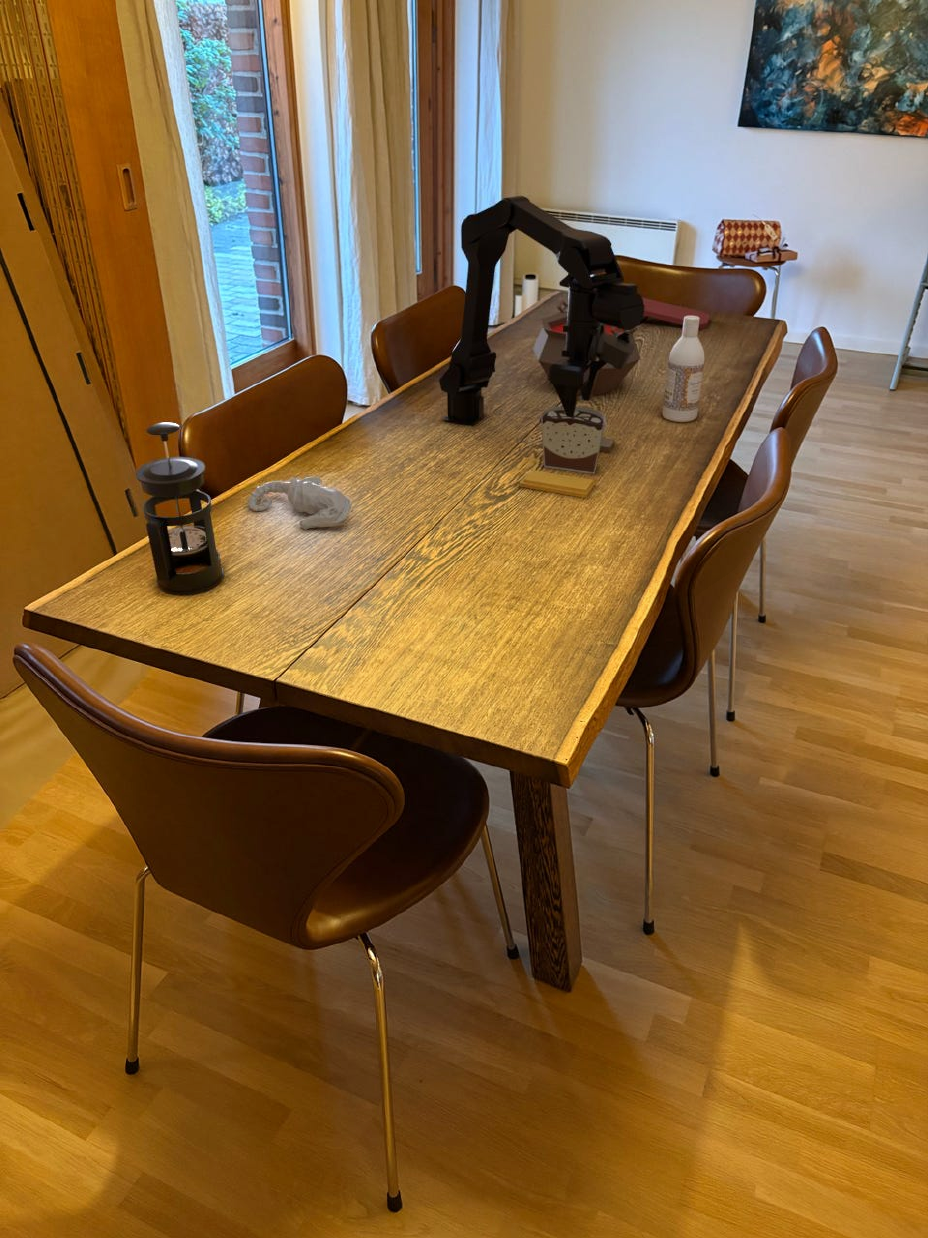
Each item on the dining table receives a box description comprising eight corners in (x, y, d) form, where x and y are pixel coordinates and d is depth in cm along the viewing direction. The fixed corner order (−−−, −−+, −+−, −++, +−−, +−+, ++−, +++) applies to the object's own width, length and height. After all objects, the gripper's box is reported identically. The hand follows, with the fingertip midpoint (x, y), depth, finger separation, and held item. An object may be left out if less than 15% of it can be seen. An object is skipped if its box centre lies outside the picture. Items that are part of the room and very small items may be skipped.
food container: (610, 462, 167) (615, 409, 162) (602, 475, 162) (607, 421, 157) (545, 453, 171) (547, 401, 165) (535, 465, 166) (538, 412, 160)
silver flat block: (567, 446, 174) (568, 440, 173) (574, 439, 177) (574, 433, 176) (608, 452, 171) (609, 446, 170) (614, 445, 174) (615, 439, 174)
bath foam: (678, 425, 183) (692, 323, 172) (654, 415, 188) (665, 315, 177) (703, 418, 186) (718, 318, 175) (679, 409, 191) (691, 310, 180)
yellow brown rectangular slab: (518, 486, 158) (519, 479, 157) (528, 476, 162) (529, 468, 161) (585, 498, 154) (586, 490, 153) (594, 487, 158) (594, 479, 157)
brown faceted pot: (660, 392, 200) (668, 316, 191) (565, 409, 191) (570, 330, 182) (599, 363, 218) (604, 292, 209) (510, 377, 209) (512, 303, 200)
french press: (181, 557, 137) (153, 408, 125) (238, 565, 135) (215, 415, 122) (137, 596, 127) (101, 439, 115) (197, 606, 125) (167, 447, 113)
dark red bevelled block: (706, 331, 254) (619, 310, 259) (711, 313, 251) (623, 292, 256) (700, 343, 244) (610, 320, 249) (705, 325, 241) (614, 302, 246)
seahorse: (226, 513, 147) (335, 516, 139) (256, 465, 154) (361, 465, 146) (240, 536, 151) (346, 539, 143) (268, 488, 157) (371, 489, 150)
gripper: (616, 337, 142) (608, 432, 151) (645, 309, 157) (636, 398, 165) (548, 329, 146) (544, 423, 154) (583, 303, 161) (577, 390, 169)
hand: (578, 408), depth 161 cm, fingers open, 9 cm apart
